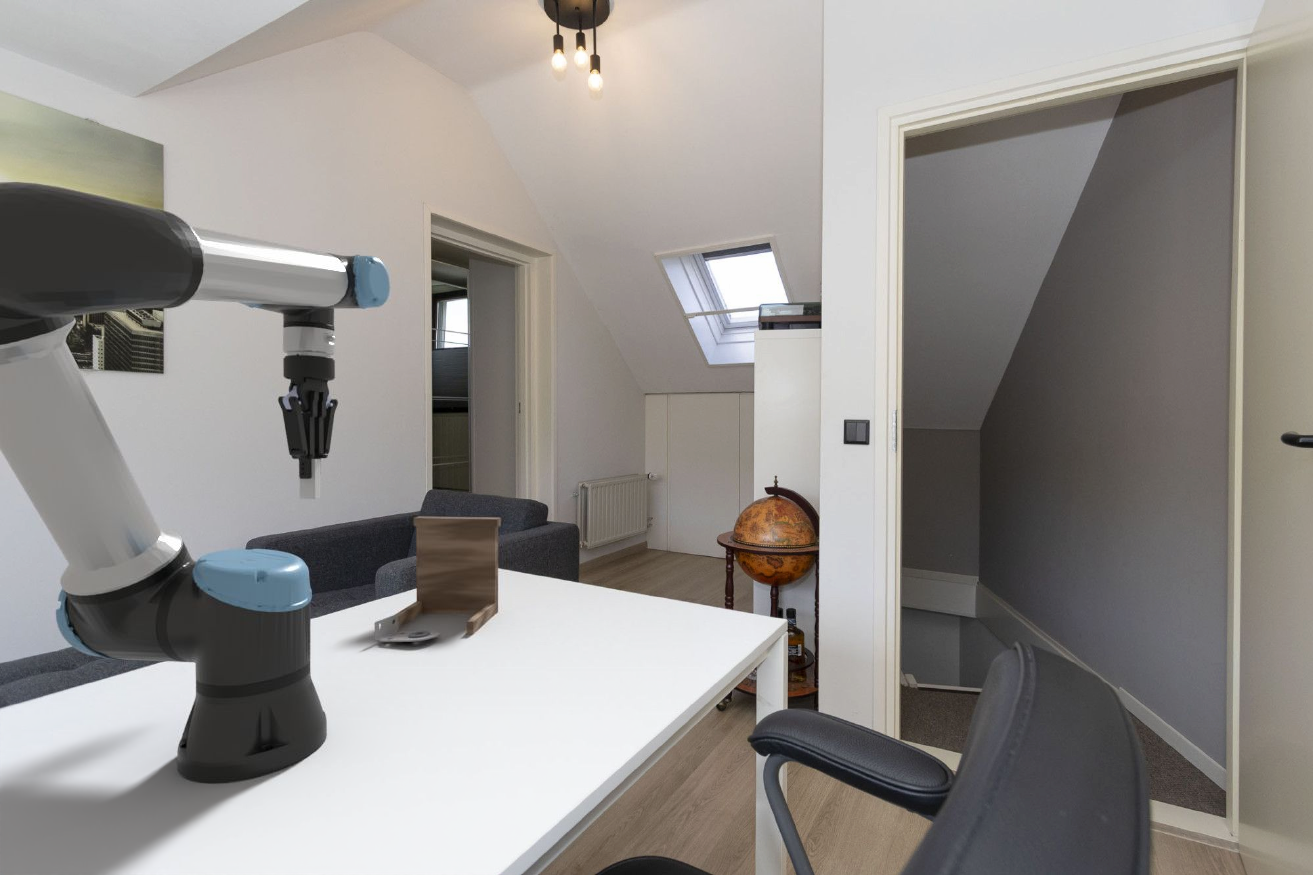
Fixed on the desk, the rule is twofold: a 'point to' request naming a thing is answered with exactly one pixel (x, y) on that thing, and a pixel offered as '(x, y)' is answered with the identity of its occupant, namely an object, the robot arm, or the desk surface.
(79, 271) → the robot arm
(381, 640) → the bracket
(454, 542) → the wooden l-shaped stand
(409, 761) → the desk surface
